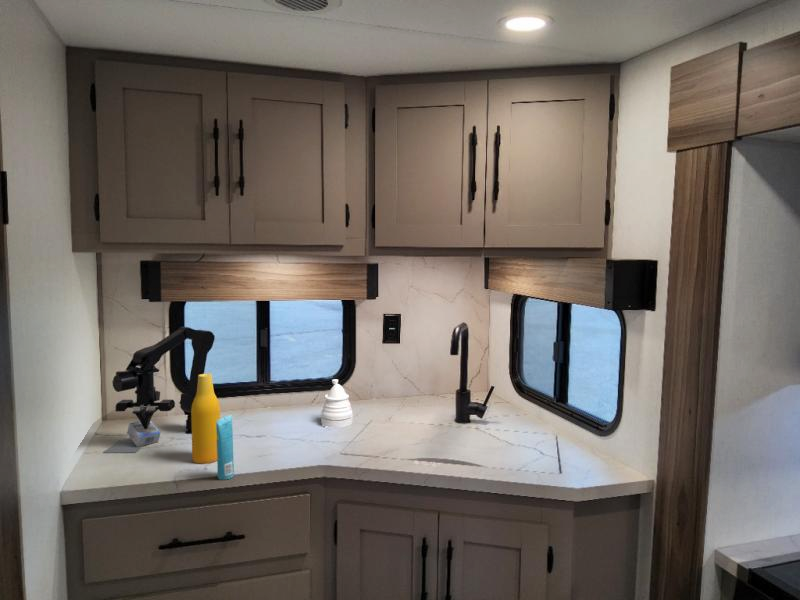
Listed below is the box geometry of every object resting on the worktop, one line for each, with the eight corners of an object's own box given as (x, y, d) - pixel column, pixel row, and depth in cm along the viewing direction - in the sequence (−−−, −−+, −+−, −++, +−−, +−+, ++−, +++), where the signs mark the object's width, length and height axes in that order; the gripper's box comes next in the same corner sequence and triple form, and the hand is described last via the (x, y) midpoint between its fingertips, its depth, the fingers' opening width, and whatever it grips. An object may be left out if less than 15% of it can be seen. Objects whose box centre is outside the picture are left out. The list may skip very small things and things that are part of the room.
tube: (225, 471, 179) (224, 413, 177) (238, 473, 177) (237, 414, 176) (212, 480, 171) (211, 420, 170) (226, 482, 170) (225, 421, 168)
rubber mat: (149, 440, 205) (149, 440, 205) (135, 452, 193) (135, 452, 193) (118, 441, 205) (118, 440, 205) (103, 453, 193) (102, 452, 193)
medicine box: (140, 437, 196) (129, 422, 201) (137, 447, 198) (126, 432, 202) (161, 432, 203) (150, 418, 207) (158, 442, 204) (147, 428, 208)
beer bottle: (223, 453, 194) (221, 371, 191) (218, 463, 185) (216, 378, 182) (195, 454, 193) (193, 372, 190) (189, 464, 184) (187, 378, 181)
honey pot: (316, 422, 230) (316, 379, 228) (343, 417, 237) (344, 375, 235) (330, 431, 219) (330, 386, 217) (358, 425, 226) (358, 382, 224)
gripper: (179, 380, 206) (180, 421, 207) (127, 380, 205) (128, 422, 206) (169, 388, 195) (170, 431, 196) (114, 388, 193) (115, 431, 195)
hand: (146, 428), depth 199 cm, fingers closed
